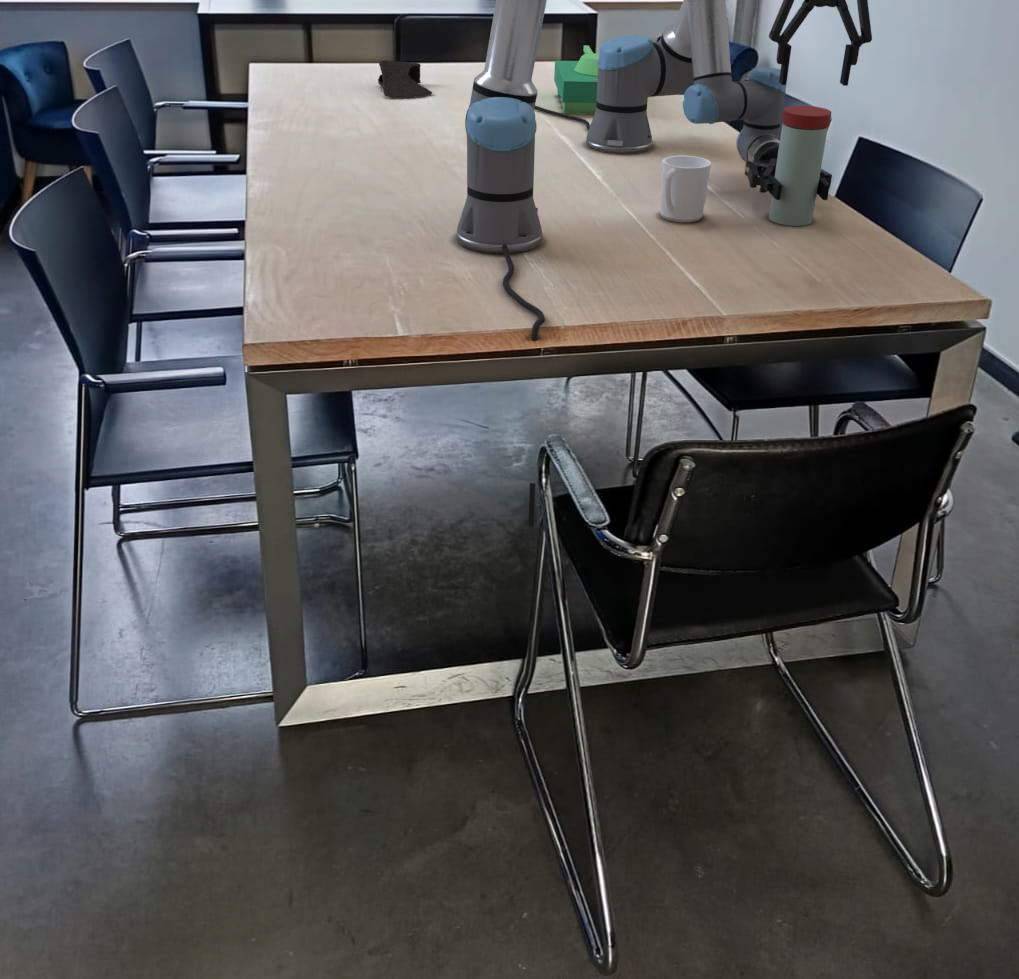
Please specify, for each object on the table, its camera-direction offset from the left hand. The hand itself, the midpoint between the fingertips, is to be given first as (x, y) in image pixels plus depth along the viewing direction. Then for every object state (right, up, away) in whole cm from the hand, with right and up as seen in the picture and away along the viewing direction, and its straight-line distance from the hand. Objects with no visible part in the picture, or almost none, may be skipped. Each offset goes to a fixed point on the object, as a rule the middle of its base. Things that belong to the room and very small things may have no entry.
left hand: (813, 83), depth 197 cm
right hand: (0, -18, +6) cm, 19 cm away
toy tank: (-33, +31, +97) cm, 107 cm away
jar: (-1, -21, +13) cm, 25 cm away
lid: (0, -4, +3) cm, 5 cm away
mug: (-22, -21, +12) cm, 33 cm away
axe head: (-84, +36, +104) cm, 138 cm away
